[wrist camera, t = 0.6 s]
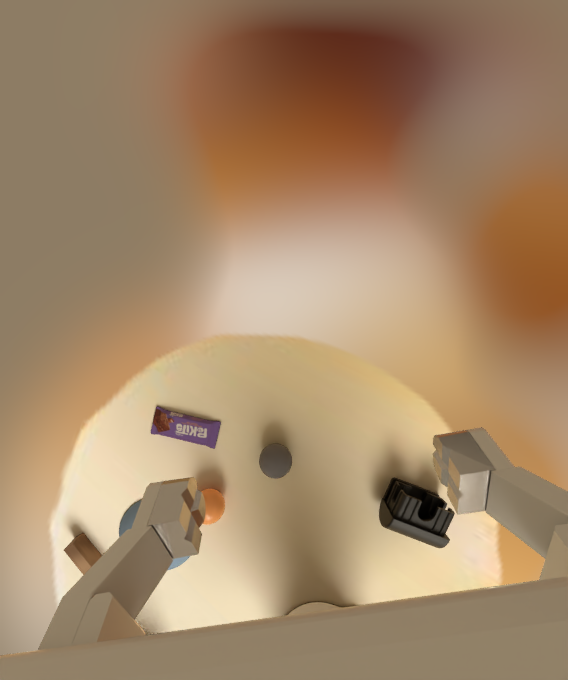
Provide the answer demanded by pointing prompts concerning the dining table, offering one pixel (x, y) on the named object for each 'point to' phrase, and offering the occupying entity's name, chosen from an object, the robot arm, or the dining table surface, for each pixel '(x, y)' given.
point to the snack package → (185, 427)
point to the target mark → (127, 524)
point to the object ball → (213, 505)
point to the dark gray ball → (275, 461)
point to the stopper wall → (82, 553)
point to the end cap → (415, 513)
